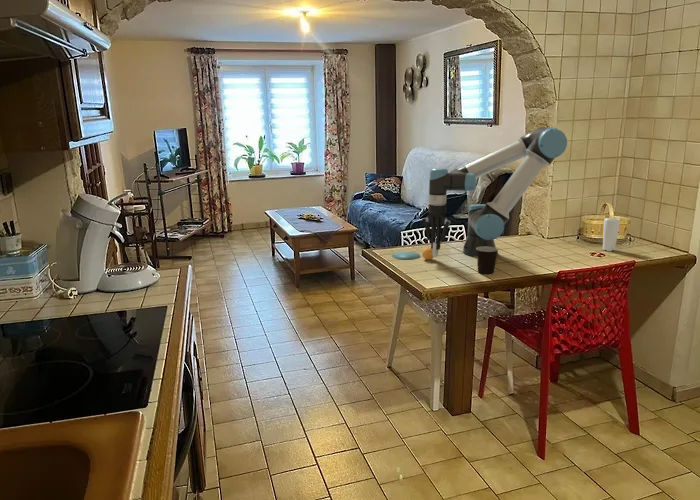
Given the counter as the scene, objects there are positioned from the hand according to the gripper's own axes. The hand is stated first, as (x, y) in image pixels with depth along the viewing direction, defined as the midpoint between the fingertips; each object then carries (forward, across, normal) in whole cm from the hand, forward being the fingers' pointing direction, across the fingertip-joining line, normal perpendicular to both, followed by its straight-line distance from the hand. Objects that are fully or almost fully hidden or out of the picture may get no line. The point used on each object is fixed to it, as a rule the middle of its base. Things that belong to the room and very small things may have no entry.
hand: (435, 256), depth 235 cm
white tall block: (+1, +62, +59) cm, 85 cm away
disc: (+2, -15, +1) cm, 15 cm away
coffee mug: (+2, +25, -3) cm, 26 cm away
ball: (0, -4, 0) cm, 4 cm away
